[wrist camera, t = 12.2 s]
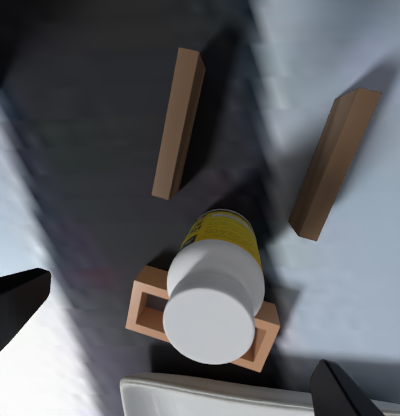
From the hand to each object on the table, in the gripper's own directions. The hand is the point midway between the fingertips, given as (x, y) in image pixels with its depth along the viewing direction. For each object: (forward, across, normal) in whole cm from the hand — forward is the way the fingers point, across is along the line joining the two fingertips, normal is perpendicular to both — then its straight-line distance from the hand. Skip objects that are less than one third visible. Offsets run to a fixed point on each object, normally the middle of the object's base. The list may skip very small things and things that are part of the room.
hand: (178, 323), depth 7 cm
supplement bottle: (+12, -1, +2) cm, 12 cm away
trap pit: (+12, -2, +9) cm, 15 cm away
